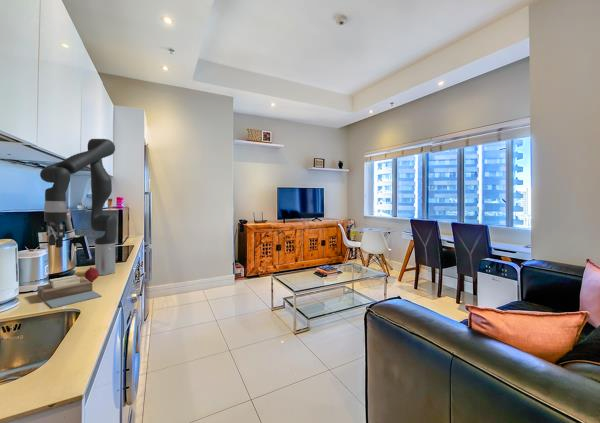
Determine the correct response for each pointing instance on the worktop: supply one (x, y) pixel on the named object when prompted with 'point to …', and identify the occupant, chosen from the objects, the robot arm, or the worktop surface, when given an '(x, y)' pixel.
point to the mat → (72, 299)
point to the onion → (91, 274)
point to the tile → (64, 281)
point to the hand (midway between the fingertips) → (55, 246)
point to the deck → (63, 290)
